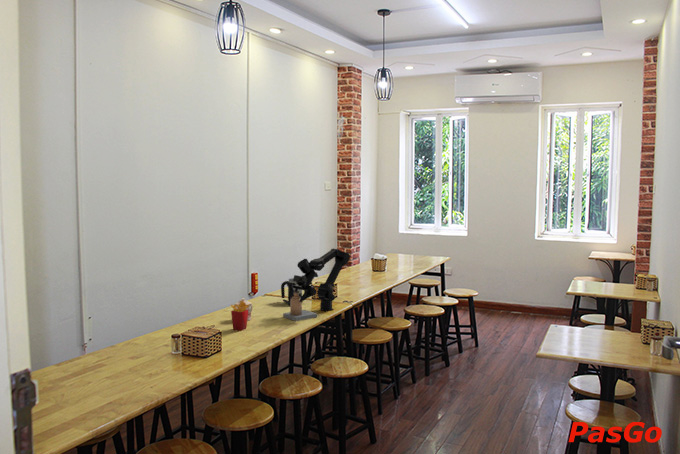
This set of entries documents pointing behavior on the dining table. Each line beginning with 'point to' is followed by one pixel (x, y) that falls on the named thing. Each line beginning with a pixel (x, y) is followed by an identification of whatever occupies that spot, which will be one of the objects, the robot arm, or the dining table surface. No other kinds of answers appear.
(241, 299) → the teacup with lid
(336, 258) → the robot arm
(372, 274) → the dining table surface
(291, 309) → the sauce bottle
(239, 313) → the french fries
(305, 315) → the serving board
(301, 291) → the milk frother
